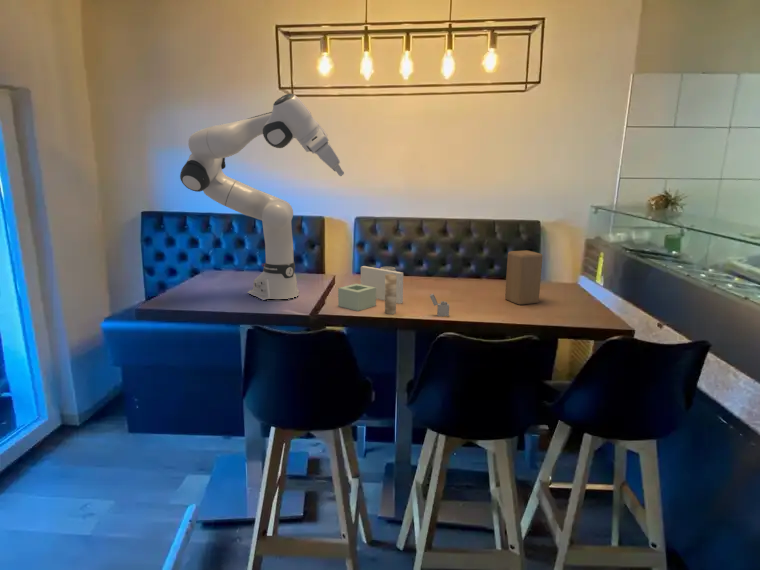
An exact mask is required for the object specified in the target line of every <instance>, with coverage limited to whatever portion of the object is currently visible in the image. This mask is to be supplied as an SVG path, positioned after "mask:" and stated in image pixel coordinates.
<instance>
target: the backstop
mask: <svg viewBox="0 0 760 570" xmlns="http://www.w3.org/2000/svg"><path fill="white" fill-rule="evenodd" d="M396 271H397V270H396ZM396 271H390V270H384V269H380V268H377V267H371V266H366V265H363V266H360V284H361V285H366V286H371V287H376V300H381V301H385V275H386V274H395V275H397V277H396V304H402V303H403V302H404V272H403V271H402V272H401V271H397V272H396Z"/></svg>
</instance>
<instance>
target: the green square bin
mask: <svg viewBox="0 0 760 570" xmlns="http://www.w3.org/2000/svg"><path fill="white" fill-rule="evenodd" d="M337 291H338V293H337V294H338V296H337V297H338V299H337V300H338V303H337V304H338V305H337V306H338V307H340V308H344V309H348V310H352V311H356V312H359V311H363V310H366V309H369V308H372V307H377V299H376V287H371V286H366V285H361V283H352V284H349V285H345V286H341V287H338V289H337Z"/></svg>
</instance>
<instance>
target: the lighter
mask: <svg viewBox="0 0 760 570" xmlns="http://www.w3.org/2000/svg"><path fill="white" fill-rule="evenodd" d="M429 298H430V299H431V302H432V304H433V306H434V307H435V306H437V310H436V312H437V314H436V316H437V317H444V316H449V317H450V304H449V303H448V302H447V301H445V300H444V301H440V303H438V300H437V298H436V296H435V294H434V293H431V294H429Z"/></svg>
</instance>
